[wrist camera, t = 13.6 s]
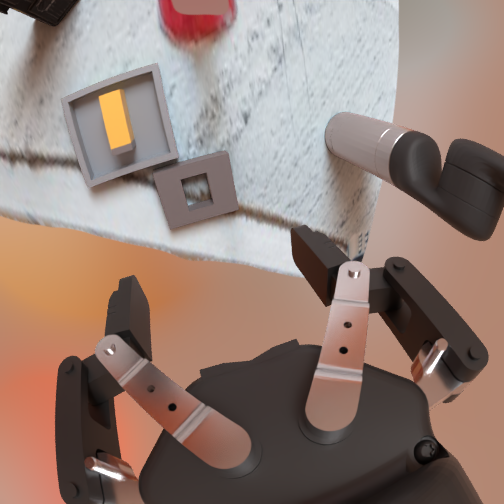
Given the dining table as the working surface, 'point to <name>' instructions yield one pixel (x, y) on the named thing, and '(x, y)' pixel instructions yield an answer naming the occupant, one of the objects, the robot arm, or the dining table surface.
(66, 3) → the portable radio
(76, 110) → the grey tray
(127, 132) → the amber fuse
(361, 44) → the dining table surface
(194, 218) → the socket plate
